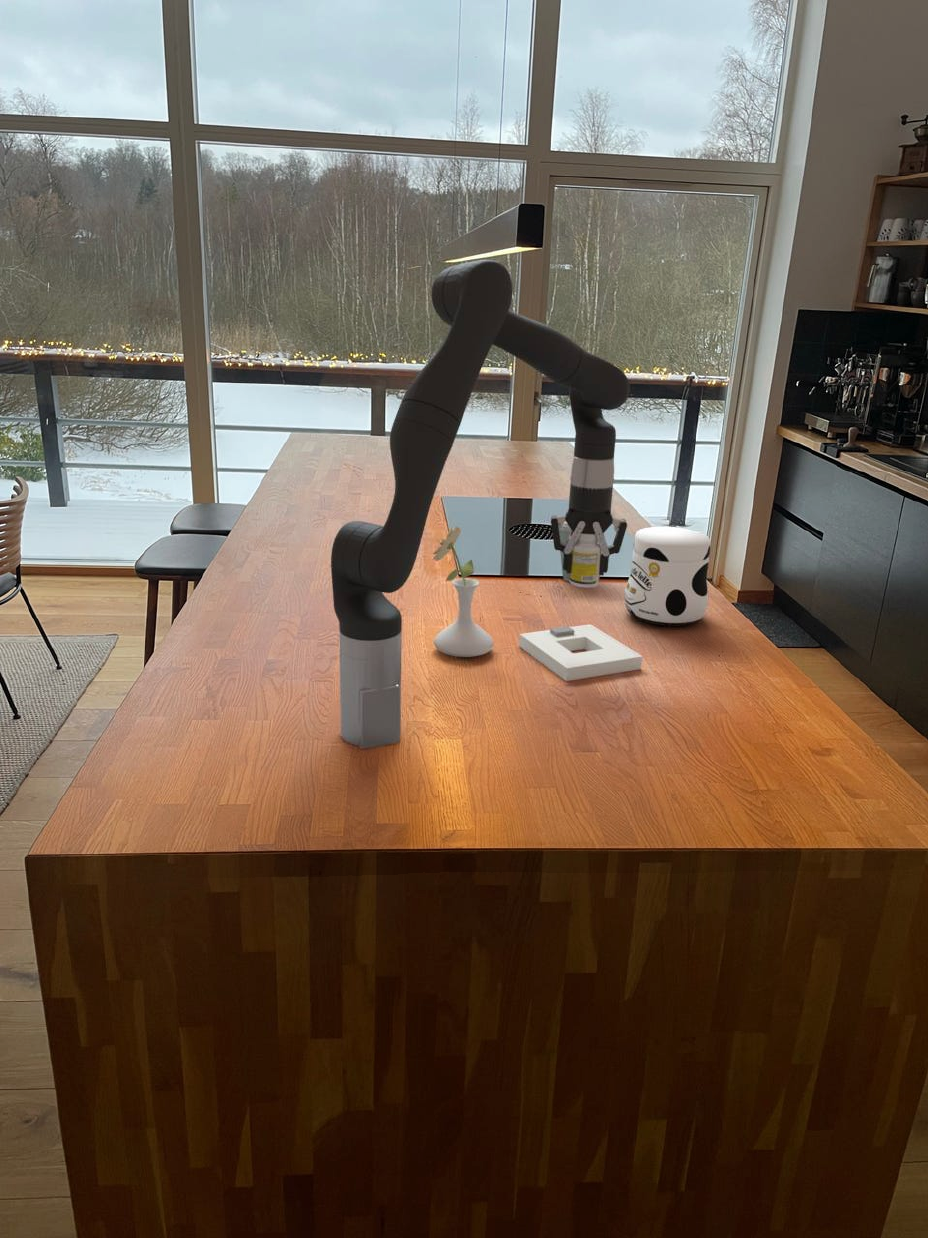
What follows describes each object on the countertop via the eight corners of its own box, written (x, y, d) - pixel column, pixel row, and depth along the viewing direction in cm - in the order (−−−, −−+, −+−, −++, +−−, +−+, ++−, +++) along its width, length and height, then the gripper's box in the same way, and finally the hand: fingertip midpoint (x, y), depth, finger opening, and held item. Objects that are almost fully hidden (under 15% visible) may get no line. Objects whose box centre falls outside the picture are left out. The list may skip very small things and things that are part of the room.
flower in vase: (463, 636, 188) (468, 512, 179) (505, 652, 180) (512, 524, 172) (414, 652, 179) (416, 523, 170) (456, 670, 171) (460, 536, 163)
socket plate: (641, 669, 175) (642, 652, 173) (565, 681, 168) (567, 664, 167) (589, 635, 190) (590, 620, 189) (518, 646, 183) (519, 630, 182)
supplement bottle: (579, 577, 178) (583, 526, 174) (604, 583, 174) (608, 532, 171) (563, 583, 174) (567, 531, 170) (588, 590, 170) (592, 537, 167)
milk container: (606, 616, 201) (614, 534, 195) (651, 599, 213) (659, 521, 207) (678, 638, 190) (688, 552, 184) (720, 618, 202) (731, 537, 196)
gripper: (631, 480, 171) (622, 570, 176) (551, 475, 172) (545, 565, 177) (634, 488, 163) (625, 582, 169) (551, 484, 165) (545, 577, 170)
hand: (584, 573), depth 173 cm, fingers closed on supplement bottle, 5 cm apart
